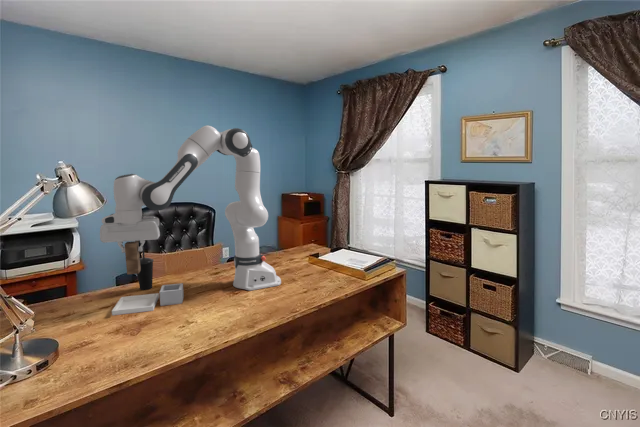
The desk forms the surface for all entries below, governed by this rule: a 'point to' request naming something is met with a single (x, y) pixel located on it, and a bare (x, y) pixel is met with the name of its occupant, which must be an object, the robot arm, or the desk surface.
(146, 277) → the drinking cup
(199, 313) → the desk surface
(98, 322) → the desk surface
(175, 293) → the box
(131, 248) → the walnut peg
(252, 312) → the desk surface
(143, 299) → the tray
